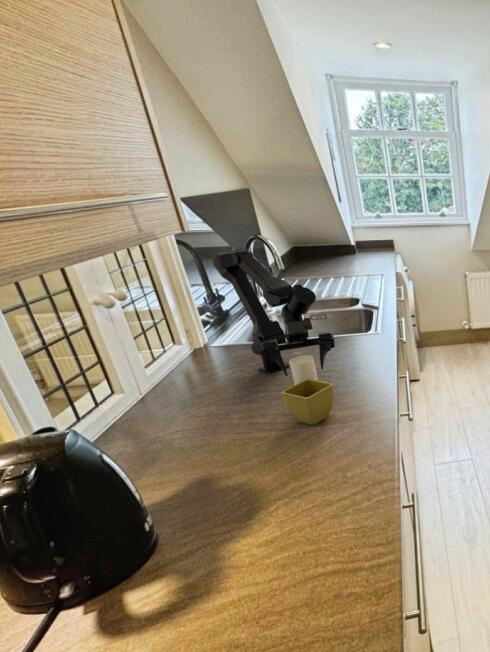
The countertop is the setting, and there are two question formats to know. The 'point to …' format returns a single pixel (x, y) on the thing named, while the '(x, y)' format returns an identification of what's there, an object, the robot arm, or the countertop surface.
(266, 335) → the robot arm
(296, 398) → the flower pot
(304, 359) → the tall white cylinder
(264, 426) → the countertop surface
